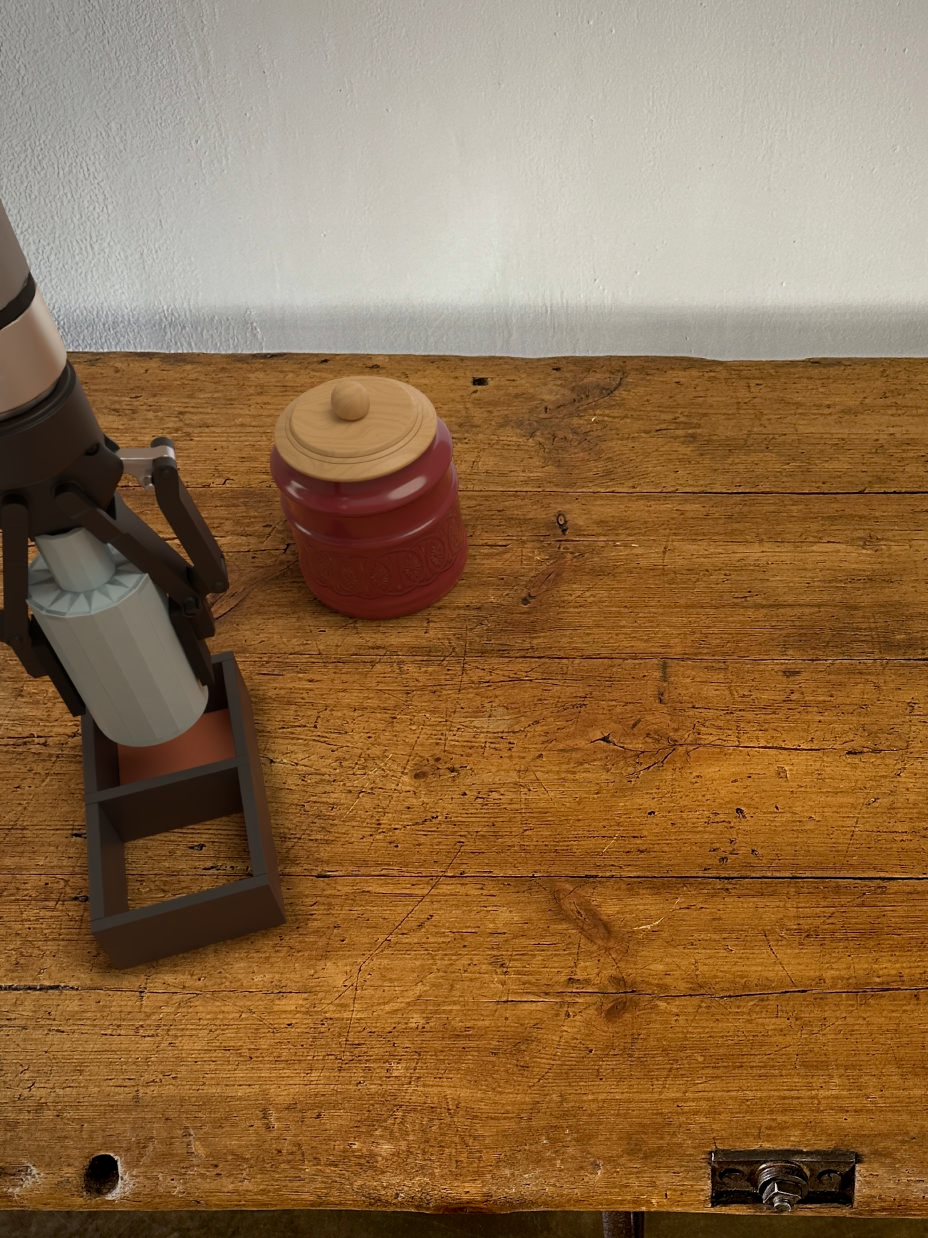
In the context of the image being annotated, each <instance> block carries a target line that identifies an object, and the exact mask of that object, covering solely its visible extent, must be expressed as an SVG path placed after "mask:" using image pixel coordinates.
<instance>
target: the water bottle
mask: <svg viewBox="0 0 928 1238" xmlns="http://www.w3.org/2000/svg"><path fill="white" fill-rule="evenodd" d="M35 539H36V541H34V542H33V543H34V545H35V547H36V549H37V550H38V553H37V554H36V555H35V557H34V558H33V560H32V561H31V562H30V563H28V599H26V602H27V604H28V608H29V609H30V611H31V613H32V614H34V616H35V618H36V620H37V621H38V623H39V625H40V626H41V628H42V630H43V632H44V633H45V635H46V637H47V639H48V640H49V642H50V644H51V645H52V647H53V649H54V651H55V652H56V654H57V656H58V658H59V659H60V661H61V663H62V664H63V666H64V668H65V670H66V671H67V673H68V675H69V677H70V678H71V680H72V682H73V683H74V685H75V687H76V689H77V690H78V692H79V694H80V696H81V697H82V699H83V701H84V702H85V704H86V706H87V708H88V709H89V711H90V713H91V715H92V716H93V718H94V720H95V721H96V723H97V725H98V727H99V728H100V729H101V730H102V732H103V733H104V734H105V735H106V736H107V737H108V738H109V739H111V740H113V741H114V742H117V743H119V744H122V745H126V746H133V747H145V746H152V745H157V744H161V743H164V742H167V741H169V740H172V739H174V738H176V737H178V736H179V735H181V734H183V733H184V732H185V731H187V730H188V729H189V728H190V727H192V726H193V725H194V724H195V723H196V722H197V720H198V719H199V718H200V716H201V715H202V713H203V712H204V710H205V707H206V704H207V701H208V688H207V685H206V686H202V685H201V682H200V680H199V678H198V676H197V674H196V671H195V669H194V667H193V665H192V663H191V660H190V658H189V656H188V654H187V651H186V649H185V647H184V645H183V643H182V640H181V638H180V636H179V634H178V632H177V629H176V627H175V625H174V623H173V620H172V618H171V615H170V607H169V598H168V594H167V593H166V592H164V591H163V590H162V589H161V588H160V587H159V586H158V585H156V584H155V583H154V582H153V581H152V580H151V579H150V577H149V575H148V573H145V574H144V573H143V572H142V571H140V570H139V569H138V568H137V567H136V566H135V565H134V564H132V563H131V562H130V561H129V560H128V559H127V558H126V557H124V556H123V555H122V554H121V553H120V552H119V551H118V550H116V549H115V548H114V547H113V546H112V545H111V544H109V543H108V544H103V543H102V542H101V541H99V540H98V539H97V538H96V537H95V536H94V535H93V534H91V533H90V532H89V531H88V530H87V529H86V528H84V527H79V528H75V529H73V530H71V531H69V532H67V533H59V534H57V535H54V536H51V535H40V536H35Z"/></svg>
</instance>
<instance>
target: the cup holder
mask: <svg viewBox="0 0 928 1238" xmlns="http://www.w3.org/2000/svg"><path fill="white" fill-rule="evenodd" d="M211 661H212V668H213V675H214V682H215V684H211V685H207V688H208V701H207V704H206V707H205V710H204V712H203V713H202V715H201V716H200V718H199V719H198V720H197V722H196V723H195V724H194V725H193V726H192V727H190V728H189V729H188V730H187V731H185V732H184V733H183V734H181V735H179V736H178V737H176V738H174V739H172V740H169V741H167V742H164V743H161V744H157V745H152V746H145V747H133V746H126V745H122V744H119V743H117V742H114V741H113V740H111V739H109V738H108V737H107V736H106V735H105V734H104V733H103V732H102V730H101V729H100V728H99V727H98V725H97V723H96V721H95V720H94V718H93V716H92V715H91V713H90V711H89V709H88V708H87V706H86V714H85V715H81V716H80V732H81V733H80V735H81V755H82V773H83V774H82V775H83V777H82V779H83V792H84V793H83V799H84V800H83V801H84V803H83V804H84V815H85V832H86V833H85V837H86V857H87V876H88V897H89V900H88V901H89V918H90V934H91V935H92V936H93V938H94V939H95V940H96V942H97V944H99V946H100V947H101V948H102V950H103V951H104V952H105V954H106V956H108V958H109V959H110V960H111V962H112V963H113V965H114V966H115V967H116V969H117V970H118V971H120V972H121V971H124V970H128V969H131V968H135V967H139V966H142V965H146V964H149V963H154V962H156V961H160V960H163V959H167V958H171V957H174V956H178V955H181V954H184V953H187V952H191V951H194V950H198V949H203V948H205V947H209V946H212V945H215V944H219V943H223V942H226V941H230V940H233V939H237V938H240V937H244V936H247V935H251V934H254V933H258V932H261V931H264V930H269V929H272V928H276V927H280V926H283V925H287V923H288V919H287V913H286V907H285V901H284V895H283V889H282V883H281V877H280V870H279V865H278V858H277V857H278V856H277V852H276V845H275V840H274V834H273V827H272V821H271V815H270V809H269V803H268V796H267V792H266V791H267V789H266V784H265V779H264V772H263V767H262V766H263V765H262V760H261V753H260V748H259V747H260V746H259V741H258V734H257V729H256V723H255V716H254V711H253V703H252V698H251V693H250V691H249V689H248V686H247V683H246V681H245V679H244V676H243V674H242V671H241V669H240V665H239V664H238V661H237V658H236V656H235V654H234V651H233V650H227V651H224V652H220V653H214V654H211ZM240 813H243V817H244V823H245V829H246V836H247V844H248V850H249V857H250V863H251V870H252V871H251V872H252V877H248V878H245V879H241V880H237V881H234V882H230V883H226V884H223V885H219V886H216V887H212V888H207V889H205V890H201V891H197V892H194V893H190V894H187V895H183V896H179V897H176V898H171V899H168V900H165V901H161V902H157V903H153V904H149V905H146V906H142V907H139V908H135V909H132V910H129V899H128V898H129V895H128V882H127V868H126V867H127V866H126V854H125V853H126V852H125V843H129V842H133V841H138V840H141V839H144V838H149V837H151V836H152V837H153V836H157V835H160V834H164V833H167V832H168V833H169V832H171V831H176V830H180V829H183V828H186V827H191V826H194V825H198V824H202V823H206V822H209V821H210V822H211V821H213V820H217V819H221V818H224V817H228V816H233V815H236V814H240Z"/></svg>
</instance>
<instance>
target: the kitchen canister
mask: <svg viewBox="0 0 928 1238" xmlns="http://www.w3.org/2000/svg"><path fill="white" fill-rule="evenodd" d="M273 440H274V443H273V446H272V449H271V450H270V451H271V452H270V457H269V471H270V475H271V478H272V480H273V483H274V484H275V486H276V487H277V488H278V490H279V491H280V496H279V497H280V498H279V499H280V506H281V510H282V513H283V515H284V517H285V519H286V520H287V522H288V524H289V528H290V531H291V534H292V537H293V540H294V544H295V547H296V550H297V554H298V566H299V568H300V570H301V574H302V577H303V580H304V582H305V584H306V585H307V587H308V589H309V590H310V592H311V593H313V594H314V596H315V597H316V598H317V600H318V601H320V602H321V603H322V605H325V606H326V607H328V608H329V609H331V610H333V611H335V612H337V613H338V614H341V615H343V616H347V617H351V618H355V619H362V620H371V621H372V620H375V621H377V620H378V621H381V620H391V619H392V620H393V619H397V618H403V617H406V616H407V617H408V616H410V615H413V614H417V613H418V612H421V611H424V610H426V609H428V608H429V607H432V606H433V605H435V604H436V603H438V602H439V601H441V600H442V599H444V598H445V597H446V596H447V595H449V593H450V592H452V590H453V589H454V588H455V587H456V586H457V585H458V584H459V582H460V580H461V578H462V576H463V574H464V572H465V569H466V566H467V562H468V558H469V550H470V549H469V547H470V546H469V540H468V532H467V528H466V525H465V523H464V521H463V515H462V508H461V502H460V497H459V496H460V495H459V488H460V486H459V485H460V484H459V483H460V480H459V479H460V478H459V474H458V470H457V468H456V465H455V463H454V461H453V455H454V440H453V437H452V434H451V430H450V429H449V427H448V425H447V424H446V422H445V421H444V420H443V419H442V418H441V417H440V416H439V415H438V414H437V412H436V409H435V406H434V405H433V403H432V402H431V400H430V399H429V398H428V397H427V395H425V394H424V393H423V392H422V391H421V390H419V389H418V388H416V387H414V386H413V385H410V384H409V383H405V382H403V381H401V380H397V379H393V378H389V377H383V376H375V375H374V376H372V375H351V376H350V375H349V376H343V377H338V378H335V379H331V380H328V381H326V382H323V383H321V384H319V385H317V386H314V387H312V388H309V389H308V390H306V391H305V392H303V393H301V394H300V395H299V396H297V397H296V398H294V399H293V400H292V401H291V402H290V403H288V405H287V406H286V407H285V408H284V409H283V410H282V412H281V413H280V415H279V416H278V418H277V420H276V422H275V426H274V431H273Z"/></svg>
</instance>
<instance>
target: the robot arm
mask: <svg viewBox="0 0 928 1238" xmlns="http://www.w3.org/2000/svg"><path fill="white" fill-rule="evenodd" d="M64 343H65V342H64V341H63V339H62V337H61V335H60V333H59V330H58V328H57V326H56V323H55V320H54V319H53V317H52V314H51V312H50V310H49V308H48V305H47V303H46V301H45V299H44V297H43V294H42V292H41V289H40V288H39V285H38V283H37V282H36V280H35V278H34V276H33V274H32V272H31V270H30V265H29V264H28V261H27V258H26V256H25V254H24V252H23V249H22V247H21V244H20V242H19V240H18V237H17V235H16V232H15V231H14V228H13V226H12V222H11V221H10V219H9V216H8V214H7V211H6V209H5V207H4V205H3V202H2V199H1V198H0V530H1V549H2V550H1V552H2V554H1V555H2V557H1V559H2V597H3V601H2V602H3V603H2V604H3V605H2V606H3V608H2V609H1V608H0V643H3V644H5V645H6V646H8V647H10V648H11V649H12V651H13V652H14V654H15V655H16V657H17V659H18V660H19V662H20V663H21V665H22V667H23V669H24V671H25V672H26V674H27V675H29V676H30V677H32V678H33V679H39V678H44V677H48V678H49V679H50V681H51V683H52V684H53V687H54V688H55V689H56V691H57V693H58V694H59V697H60V698H61V700H62V701H63V703H64V704H65V706H66V708H67V709H68V712H69V713H70V714H71V716H72V718H76V717H81V715H85V714H86V704H85V702H84V701H83V699H82V697H81V696H80V694H79V692H78V690H77V689H76V687H75V685H74V683H73V682H72V680H71V678H70V677H69V675H68V673H67V671H66V670H65V668H64V666H63V664H62V663H61V661H60V659H59V658H58V656H57V654H56V652H55V651H54V649H53V647H52V645H51V644H50V642H49V640H48V639H47V637H46V635H45V633H44V632H43V630H42V628H41V626H40V625H39V623H38V621H37V620H36V618H35V616H34V614H33V613H32V614H30V617H29V606H28V604H27V602H26V599H28V566H29V541H30V543H34V541H36V539H35V536H40V535H51V536H54V535H57V534H59V533H67V532H69V531H71V530H73V529H75V528H79V527H84V528H86V529H87V530H88V531H89V532H90V533H91V534H93V535H94V536H95V537H96V538H97V539H98V540H99V541H101V542H102V543H103V544H108V543H109V544H111V545H112V546H113V547H114V548H115V549H116V550H118V551H119V552H120V553H121V554H122V555H123V556H124V557H126V558H127V559H128V560H129V561H130V562H131V563H132V564H134V565H135V566H136V567H137V568H138V569H139V570H140V571H142V572H143V573H144V574H145V573H148V575H149V577H150V579H151V580H152V581H153V582H154V583H155V584H156V585H158V586H159V587H160V588H161V589H162V590H163V591H164V592H166V593H167V596H168V598H169V607H170V615H171V618H172V620H173V623H174V625H175V627H176V629H177V632H178V634H179V636H180V638H181V640H182V643H183V645H184V647H185V649H186V651H187V654H188V656H189V658H190V660H191V663H192V665H193V667H194V669H195V671H196V674H197V676H198V678H199V680H200V682H201V685H202V686H206V685H211V684H215V682H214V675H213V668H212V661H211V655H212V654H211V651H210V648H209V646H208V643H207V641H206V639H210V638H214V637H215V635H216V626H215V625H216V624H215V618H214V612H213V611H212V608H211V605H210V604H209V600H208V598H207V596H209V595H210V594H216V595H219V594H224V593H226V592H227V591H229V589H230V581H229V574H228V568H227V562H226V561H227V560H226V557H225V554H224V552H223V550H222V548H221V547H220V545H219V543H218V542H217V539H216V538H215V536H214V534H213V533H212V531H211V529H210V527H209V526H208V524H207V522H206V521H205V519H204V517H203V515H202V513H201V511H200V510H199V508H198V506H197V504H196V503H195V501H194V499H193V498H192V496H191V494H190V492H189V491H188V488H187V486H185V483H184V481H183V480H182V478H181V476H180V475H179V471H178V470H179V469H178V461H177V455H176V448H175V443H174V441H173V440H172V439H170V438H169V437H167V436H157V437H155V438H153V439H152V440H151V442H150V444H149V445H150V446H149V447H120V445H119V444H118V443H117V442H116V441H115V440H114V439H112V438H111V437H109V436H108V435H107V434H106V433H105V432H104V431H103V429H102V428H101V426H100V424H99V422H98V419H97V417H96V415H95V413H94V411H93V408H92V405H91V404H90V401H89V399H88V396H87V395H86V392H85V390H84V387H83V384H82V383H81V381H80V379H79V376H78V374H77V371H76V370H75V367H74V365H73V363H72V362H71V361H70V360H69V359H68V353H67V349H66V346H65V344H64ZM123 475H129V476H132V477H133V478H134V479H135V480H136V481H137V483H138V485H139V487H141V488H143V489H144V491H145V492H146V493H148V494H155V500H156V502H157V506H158V507H159V509H160V511H161V513H162V515H163V516H164V518H165V520H166V521H167V523H168V525H169V527H170V528H171V530H172V531H173V533H174V535H175V536H176V539H177V540H178V542H179V543H180V545H181V546H182V548H183V550H184V552H185V553H186V555H187V557H188V558H189V560H190V562H191V563H190V562H189V561H188V560H186V558H185V557H183V556H182V555H181V554H180V553H179V552H178V551H177V550H176V549H174V547H173V546H171V544H169V543H168V542H167V541H166V540H165V539H163V537H161V535H159V534H158V532H156V530H154V529H153V528H152V527H151V526H150V525H149V524H148V523H146V522H145V521H144V520H143V518H141V517H140V516H139V515H138V514H137V513H136V512H135V511H134V510H133V509H132V508H130V507H129V506H128V504H126V502H125V501H124V498H123V496H122V495H121V493H119V491H118V490H117V488H118V486H119V484H120V482H121V480H122V478H123Z"/></svg>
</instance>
